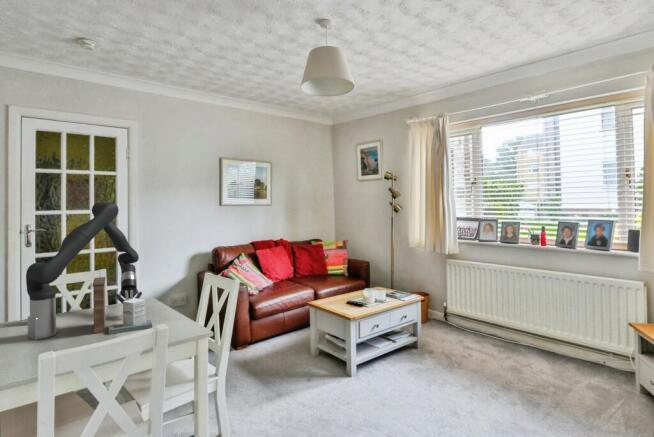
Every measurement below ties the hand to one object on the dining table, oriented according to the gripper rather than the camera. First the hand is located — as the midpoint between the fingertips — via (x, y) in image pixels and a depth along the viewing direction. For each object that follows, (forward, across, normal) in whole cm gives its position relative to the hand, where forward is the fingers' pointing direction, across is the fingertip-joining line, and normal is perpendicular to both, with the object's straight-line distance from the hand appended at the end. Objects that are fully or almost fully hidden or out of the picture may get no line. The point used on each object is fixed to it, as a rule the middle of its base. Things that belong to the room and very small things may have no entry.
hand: (129, 309), depth 186 cm
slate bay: (+16, 0, -8) cm, 18 cm away
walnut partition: (+10, -13, -2) cm, 16 cm away
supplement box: (+12, +2, -5) cm, 13 cm away
